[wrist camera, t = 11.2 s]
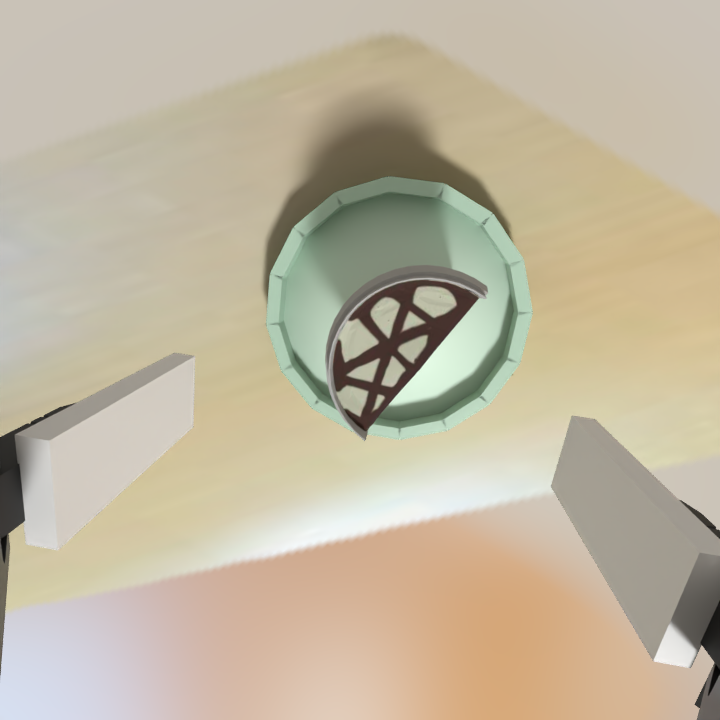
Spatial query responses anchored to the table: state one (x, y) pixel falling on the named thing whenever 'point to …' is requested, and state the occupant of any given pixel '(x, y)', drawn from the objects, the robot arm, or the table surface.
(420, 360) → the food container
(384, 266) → the tray
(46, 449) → the robot arm
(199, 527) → the table surface
